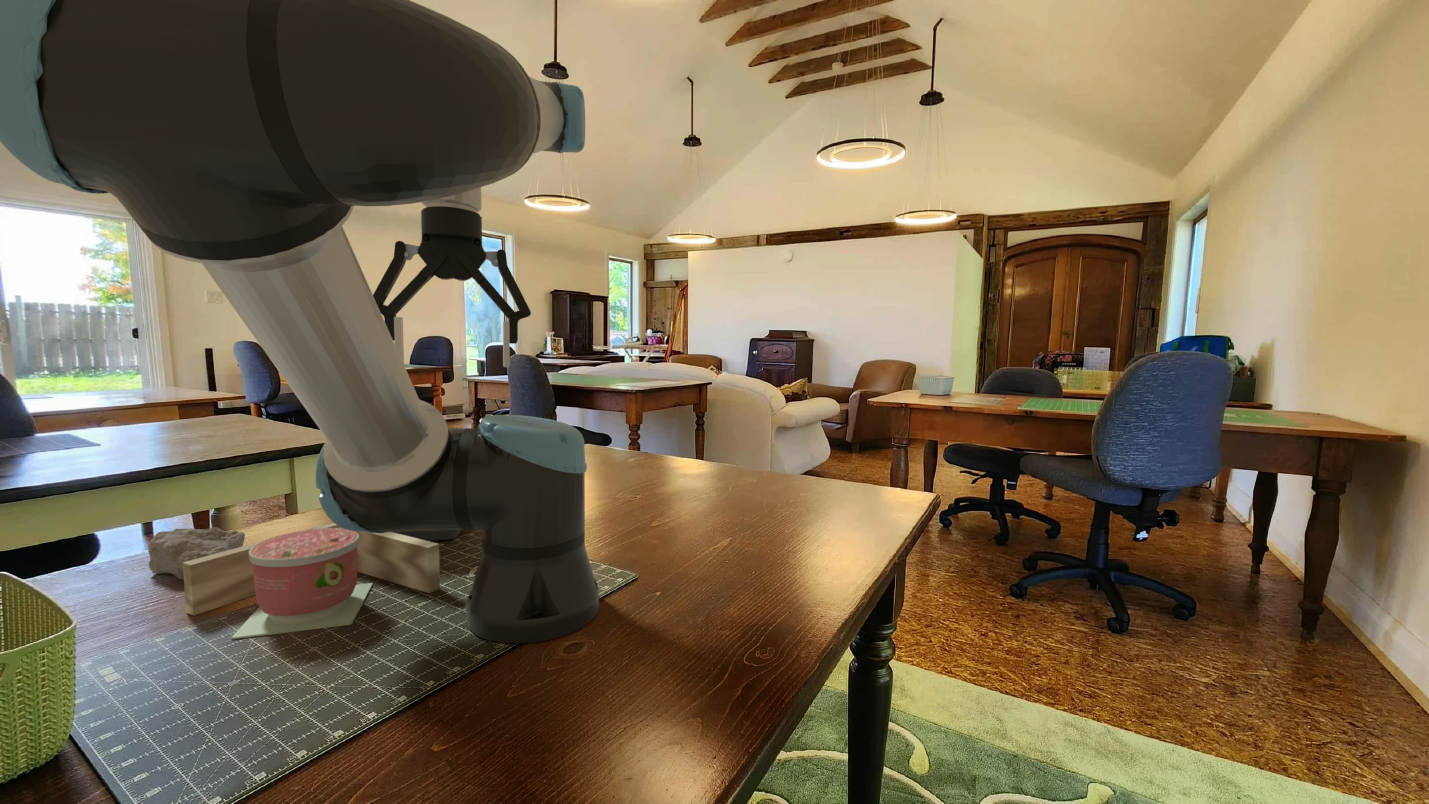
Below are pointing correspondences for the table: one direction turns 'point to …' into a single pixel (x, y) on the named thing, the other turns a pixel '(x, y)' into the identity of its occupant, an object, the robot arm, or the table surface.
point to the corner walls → (377, 552)
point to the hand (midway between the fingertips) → (454, 366)
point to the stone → (188, 547)
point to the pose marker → (345, 616)
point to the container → (305, 573)
